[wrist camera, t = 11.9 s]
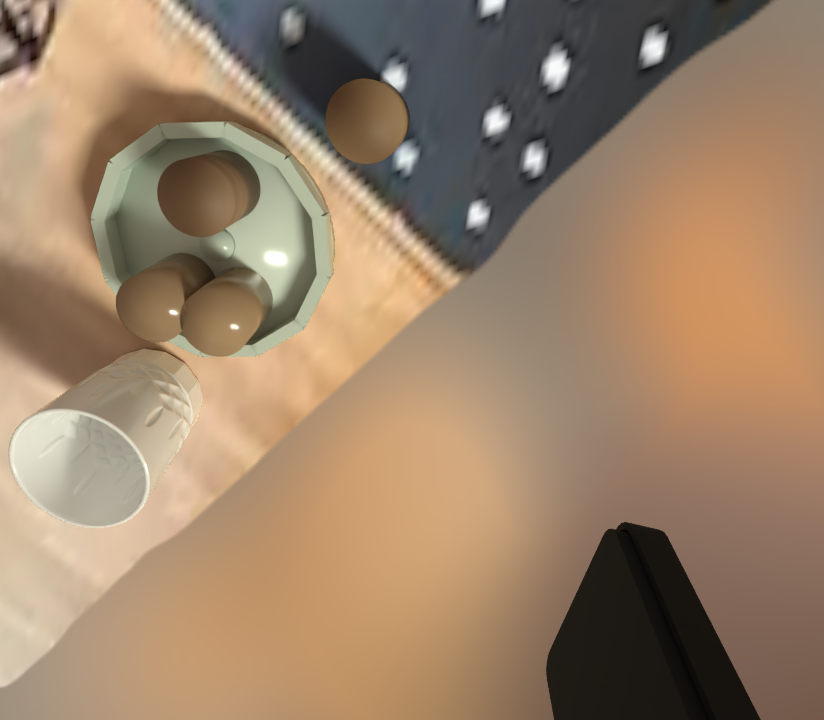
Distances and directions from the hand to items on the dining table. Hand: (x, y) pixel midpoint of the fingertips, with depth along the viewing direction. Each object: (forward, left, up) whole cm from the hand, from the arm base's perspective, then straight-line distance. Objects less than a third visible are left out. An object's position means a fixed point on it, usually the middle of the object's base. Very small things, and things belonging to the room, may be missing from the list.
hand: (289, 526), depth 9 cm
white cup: (+22, +2, -31) cm, 38 cm away
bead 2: (-1, -5, -30) cm, 31 cm away
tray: (+11, -4, -30) cm, 32 cm away
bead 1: (+8, -6, -29) cm, 31 cm away
